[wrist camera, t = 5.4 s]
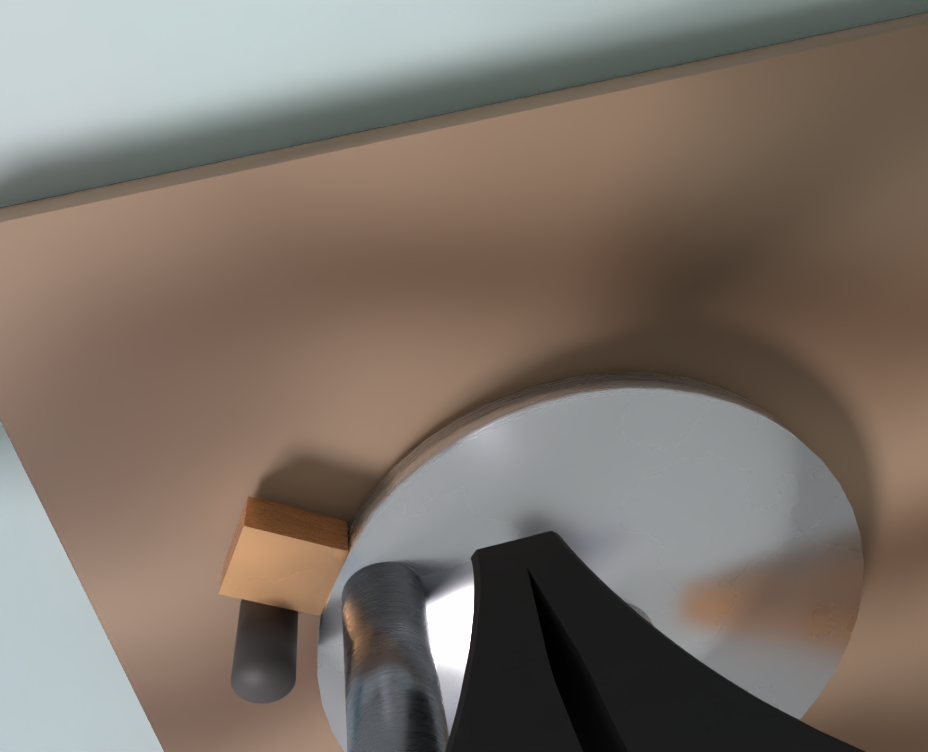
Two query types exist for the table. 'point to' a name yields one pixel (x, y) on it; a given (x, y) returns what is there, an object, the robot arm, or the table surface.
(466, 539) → the flange
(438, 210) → the base board
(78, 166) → the table surface
